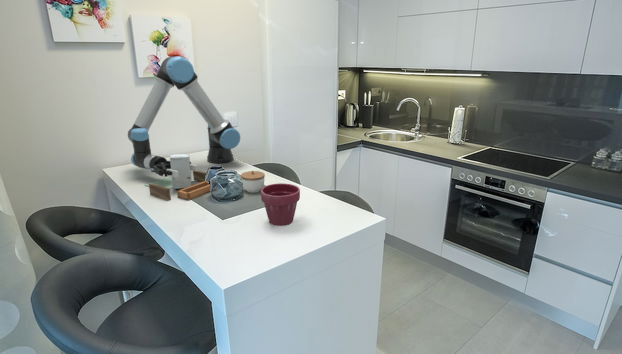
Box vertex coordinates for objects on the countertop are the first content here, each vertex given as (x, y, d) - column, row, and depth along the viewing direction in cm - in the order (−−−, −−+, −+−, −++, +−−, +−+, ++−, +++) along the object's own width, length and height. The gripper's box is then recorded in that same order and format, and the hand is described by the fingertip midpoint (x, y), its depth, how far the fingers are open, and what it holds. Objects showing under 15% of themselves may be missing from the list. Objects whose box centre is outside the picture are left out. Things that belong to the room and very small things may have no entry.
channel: (196, 179, 175) (195, 169, 174) (212, 183, 169) (212, 174, 168) (150, 194, 155) (148, 184, 153) (167, 200, 149) (166, 189, 147)
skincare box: (172, 189, 158) (168, 157, 153) (173, 184, 163) (169, 154, 158) (192, 187, 160) (188, 156, 155) (192, 183, 165) (189, 152, 160)
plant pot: (280, 210, 141) (280, 180, 137) (307, 219, 132) (307, 188, 128) (254, 221, 130) (252, 189, 126) (281, 233, 122) (280, 199, 118)
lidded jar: (263, 194, 156) (262, 174, 153) (239, 194, 157) (238, 174, 154) (266, 186, 167) (266, 167, 164) (244, 186, 167) (243, 167, 164)
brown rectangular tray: (206, 186, 165) (205, 180, 164) (215, 189, 162) (215, 183, 161) (177, 197, 152) (177, 190, 151) (187, 200, 149) (187, 194, 148)
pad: (169, 177, 177) (169, 176, 177) (188, 182, 170) (188, 182, 170) (144, 185, 166) (144, 184, 166) (163, 191, 159) (163, 190, 159)
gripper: (176, 165, 178) (207, 172, 167) (135, 177, 160) (167, 186, 149) (174, 151, 175) (205, 157, 164) (133, 161, 158) (164, 169, 146)
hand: (187, 171), depth 157 cm, fingers closed on skincare box, 9 cm apart
